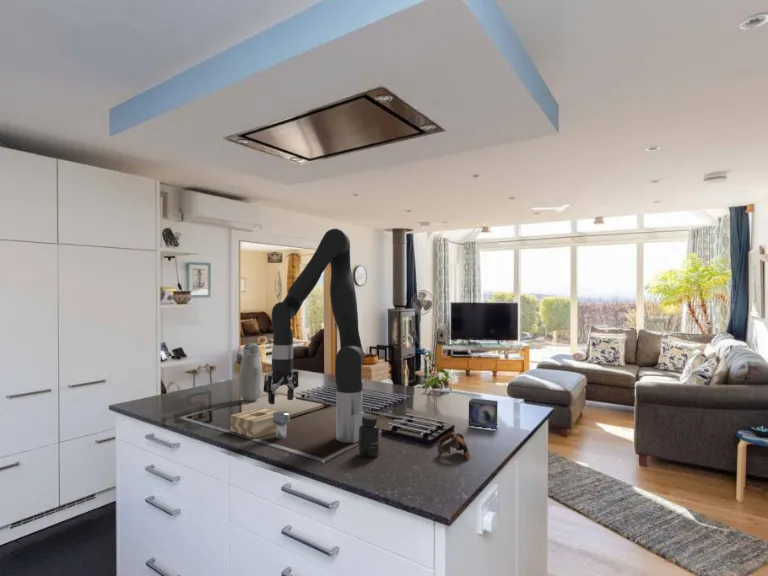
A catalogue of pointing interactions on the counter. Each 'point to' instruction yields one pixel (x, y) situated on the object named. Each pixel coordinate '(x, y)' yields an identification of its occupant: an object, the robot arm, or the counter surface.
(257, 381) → the grey bottle
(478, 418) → the small box
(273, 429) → the oak block
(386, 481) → the counter surface
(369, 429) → the supplement bottle
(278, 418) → the steel pin
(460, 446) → the brown curved band
